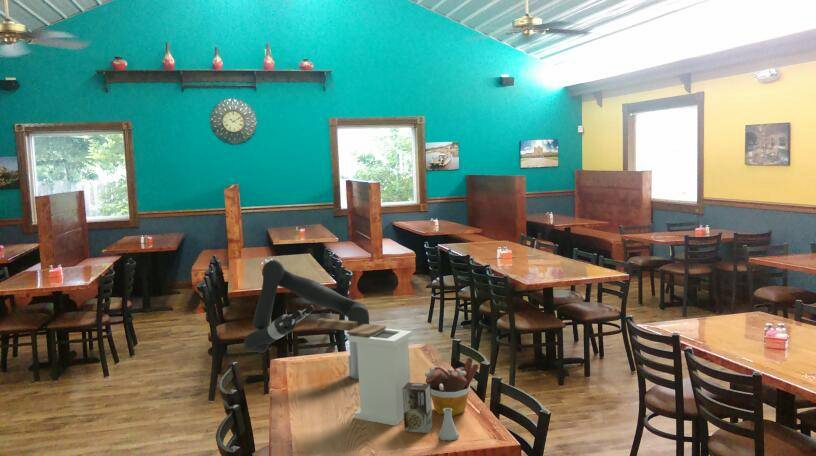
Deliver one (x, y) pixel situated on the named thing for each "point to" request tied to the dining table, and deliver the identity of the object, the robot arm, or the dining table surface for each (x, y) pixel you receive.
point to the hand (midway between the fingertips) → (306, 309)
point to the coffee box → (417, 407)
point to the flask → (448, 427)
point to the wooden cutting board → (350, 327)
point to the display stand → (382, 375)
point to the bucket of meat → (450, 387)
